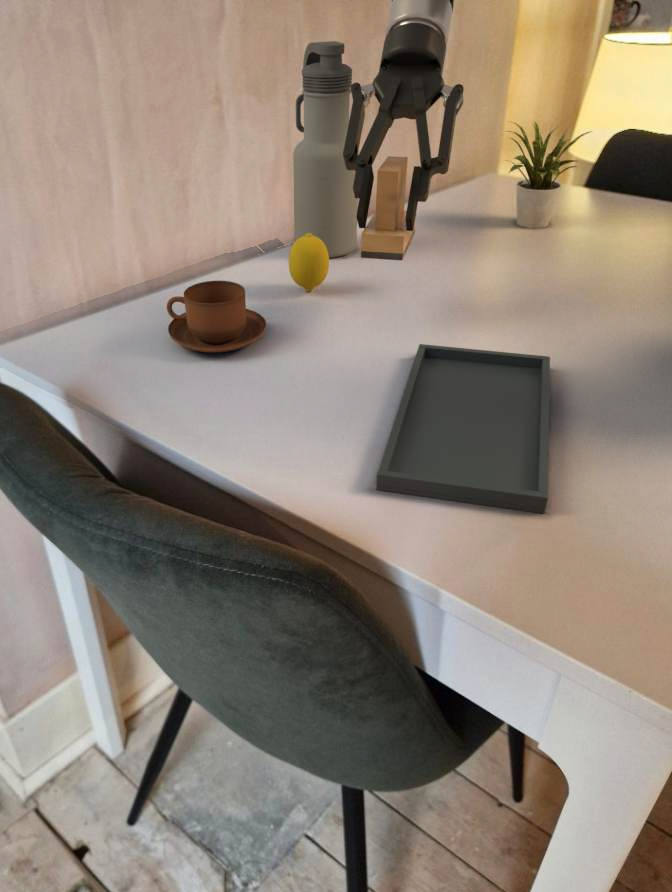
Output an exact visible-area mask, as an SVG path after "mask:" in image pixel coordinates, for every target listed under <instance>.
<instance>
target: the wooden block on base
mask: <svg viewBox="0 0 672 892" xmlns="http://www.w3.org/2000/svg"><path fill="white" fill-rule="evenodd" d="M408 162H409V161H408V157H407V156H386V158H385V160H383V163H382V164H381V165H380V166H379V168H378V169H377V172H376V192H375V193H376V196H375V212H374V213H373V215H372V216H371V218H370V219H369V221H368V222H367V223H366V227H365V228H363V230H362V232H361V236H360V237H361V238H360V242H361V243H360V258H361V259H373V260H388V261H403V260H404V258H405V256H406V254H407V251H408V250H409V247H410V245H411V244H412V240H413V238H414V237H415V233H416V222H417V221H416V219H417V215H416V216H415V223H414V229H413V231H407V229H406V220H405V218H406V212H407V210H405V207H406V206H405V205H406V192H407V191H406V190H407V177H408Z"/></svg>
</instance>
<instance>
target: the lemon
mask: <svg viewBox="0 0 672 892" xmlns="http://www.w3.org/2000/svg"><path fill="white" fill-rule="evenodd" d="M288 270H289V275H290V277H291V279H292V280H293V282H294V283H295V284H296V285H297V286H299V287H301V288H303V289H304V290H305V291H306V292H312V291H313V290H314V288H317V287H319V286H320V285H321V284H322V283H324V282H325V280H326V278H327V276H328V273H329V270H330V258H329V256H328V251H327V248H326V246H325V244H324V243H323V241H322V240H321V239H319V238H318V237H316V236H313V235H312V234H311V233H307V234H306V235H305V236H302V237H300V238H299V239H298V240H296V242H295V241H294V243H293V244H292V246H291V248H290V252H289V257H288Z"/></svg>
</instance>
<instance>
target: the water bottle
mask: <svg viewBox="0 0 672 892" xmlns="http://www.w3.org/2000/svg"><path fill="white" fill-rule="evenodd" d="M344 54H345V43H344V42H339V41H337V40H336V41H335V40H331V41H329V40H328V41H315V42H313V41H312V42H309V43H308V44H307V46H306V47H305V50H304V54H303V60H302V61H303V63H302V69H301V77H302V78H301V79H302V90H301V94H299V95H298V96H297V97H296V99H295V127H296V129H297V130H298V131H299V132H301V133H303V138H302V140H300V142H298V143H297V145H296V146H295V147H294V149H293V152H292V164H293V165H292V168H293V169H292V171H293V174H292V175H293V223H294V224H293V229H294V236H293V237H294V243H295V242H296V240H298V239H299V238H300V237H302V236H305V235H306V234H307V233H311V234H312V235H313V236H316V237H318V238H319V239H321V240H322V241H323V243H324V244H325V246H326V248H327V251H328V256H329V259H333V258H334V259H335V258H339V257H344V256H346V255H348V254H350V253H352V252H353V251H354V250H355V248H356V246H357V239H358V238H357V237H358V221H357V217H356V215H357V210H358V204H359V198H355V195H354V191H353V184H354V178H355V172H356V171H354V170H347V169H346V167H345V162H344V158H343V150H344V145H345V140H346V135H347V130H348V125H349V119H350V102H351V101H350V99H351V97H350V96H351V94H352V92H351V85H352V84H353V81H352V80H353V78H352V77H353V68H352V67H351V66H349V65H348V64H346V63H343V55H344ZM302 103H303V124H302V119H301V118H302V117H301V116H302V115H301V113H302V112H301V111H302V110H301V107H302ZM359 153H360V150H359V149H358V155H359Z"/></svg>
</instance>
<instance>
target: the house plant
mask: <svg viewBox="0 0 672 892" xmlns="http://www.w3.org/2000/svg"><path fill="white" fill-rule="evenodd" d="M557 120H558V118H556V119H555V120H554V121H553V123H552V125H551V126H550V129H549V132H548V134H547V135H546V137H545V139H544V140H543V138H542V135H541V132H540V129H539V125H538V123H537V122H536V121H535V120H533V123H531V124H532V128H533V129H534V130H533V131H534V133H535V134H534V140H533V141H532V142H531V143H532V148H531V144H530V142H529V139H528V136H527V133H526V131H525V130H524V128H523V127H522V126H521V125H520V124H518V123H516V122H513V121H510V120H508V122H509V123H512V124H514V125H516V126H517V127H518V128H519V130H520V131H521V133H522V135H521V134H519V133H517V132H515V131H510V130H506V132H508V133H513V134H514V135H516V136H517V137H518V138H520V140H521V142H522V143H523V145H524V146H525V148H526V150H527V153H528V155H529V158H530V160H531V162H530V160H529V159H528V158H527V157H526V155H525V154H526V153H525V151H524V150H523V148H522V146H521V145H520V143H519V142H518V141H517V140H516V139H514V138H513V137H509V139H511V140H513V141H514V142H515V143H516V145H517V146H518V147H519V150H520V151H521V153H522V154H520V155H519V154H518V155H516V156H515V157H514V160H518V161H519V162H520V164H519V162H517V163H514V162H512V161H511V160H508V159H505V161H506V162H510V163H512V164H513V165H512V166H511V167H510V170H509V172H508V174H510V173H511V172H513V171H515V170H518V171H519V172H520V173H521V175H522V176H523V177H524V179H522V180H520V181H519V180H518V182H517V183H516V224H517V225H518V226H520V227H522V228H529V229H541V228H545V227H548V226H549V223H550V220H551V218H552V214H553V212H554V209H555V206H556V203H557V200H558V197H559V194H560V191H561V189H562V185H561V183H559V182H558V181H556V180H557V178H558V177H559V176H560V175H561V174H562V173H563V172H565V171H567V170H569V169H572V168H573V169H574V168H578V166H577V165H571V166H568V167H566V168H564V169H563V170H560V168H561V167H562V166H564V165H566V164H569V163H570V164H571V163H573V162H574V163H576V162H579V160H575V159H565V160H561V159H560V158H561V157H562V156H563V154H564V153H565V152H566V151H567V150H569V148H570V147H571V146H573V145H574V144H575V143H576V142H577V141H579V139H581V138H582V137H583V136H585V135H587V134H590V133H592V132H593V130H591V131H587V132H583V133H582V134H579V135H578V136H577V137H575V138H574V139H573V140H572V141H571V142H569V143H568V141H570V140H571V138H568V139H565V137H566V134H567V132H568V128H566V130H565V131H564V132H563V134H562V135H561V137H560V138H559V139H558V142H557V144H556V145H555V147H554V148H553V149H552V151H551V152H550V153H547V155H546V152H547V147H548V144H549V142H550V139H551V136H552V134H553V132H554V131H556V129H557V128H558V126H557V127H555V128H554V129H552V128H553V126H554V124H555V122H556V121H557ZM567 143H568V144H567ZM566 144H567V145H566ZM565 145H566V146H565ZM532 149H533V151H532ZM545 155H546V157H545ZM531 163H532V164H531ZM522 167H524V168H525V171H526V174H527V176H528V178H527V176H526V174H524V172H523V171H522V169H521V168H522ZM553 177H554V178H553Z"/></svg>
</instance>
